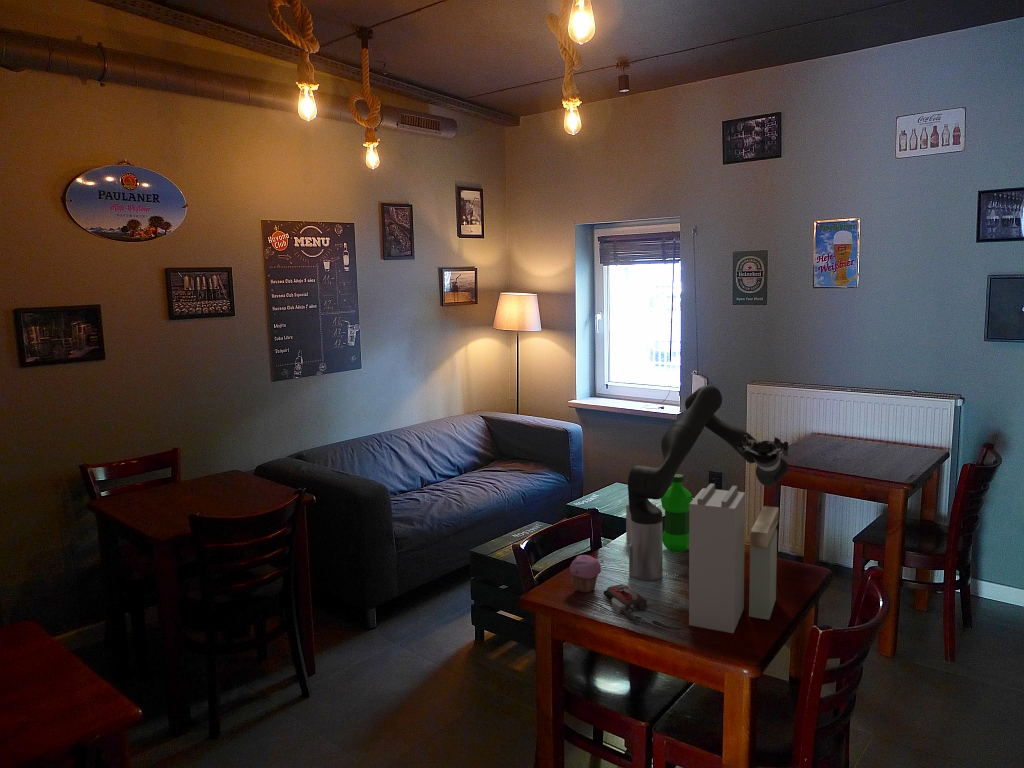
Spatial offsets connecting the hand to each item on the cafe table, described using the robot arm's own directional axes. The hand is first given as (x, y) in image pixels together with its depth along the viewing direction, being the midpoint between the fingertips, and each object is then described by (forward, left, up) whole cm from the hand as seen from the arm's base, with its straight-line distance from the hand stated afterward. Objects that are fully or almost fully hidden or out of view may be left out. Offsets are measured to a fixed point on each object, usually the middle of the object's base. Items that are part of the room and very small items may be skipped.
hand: (760, 439), depth 208 cm
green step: (+4, -23, -41) cm, 47 cm away
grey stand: (-6, -33, -41) cm, 53 cm away
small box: (-40, +14, -41) cm, 59 cm away
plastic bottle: (-27, +11, -41) cm, 50 cm away
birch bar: (+4, -21, -21) cm, 30 cm away
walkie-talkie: (-28, -37, -42) cm, 62 cm away
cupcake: (-43, -30, -41) cm, 67 cm away
